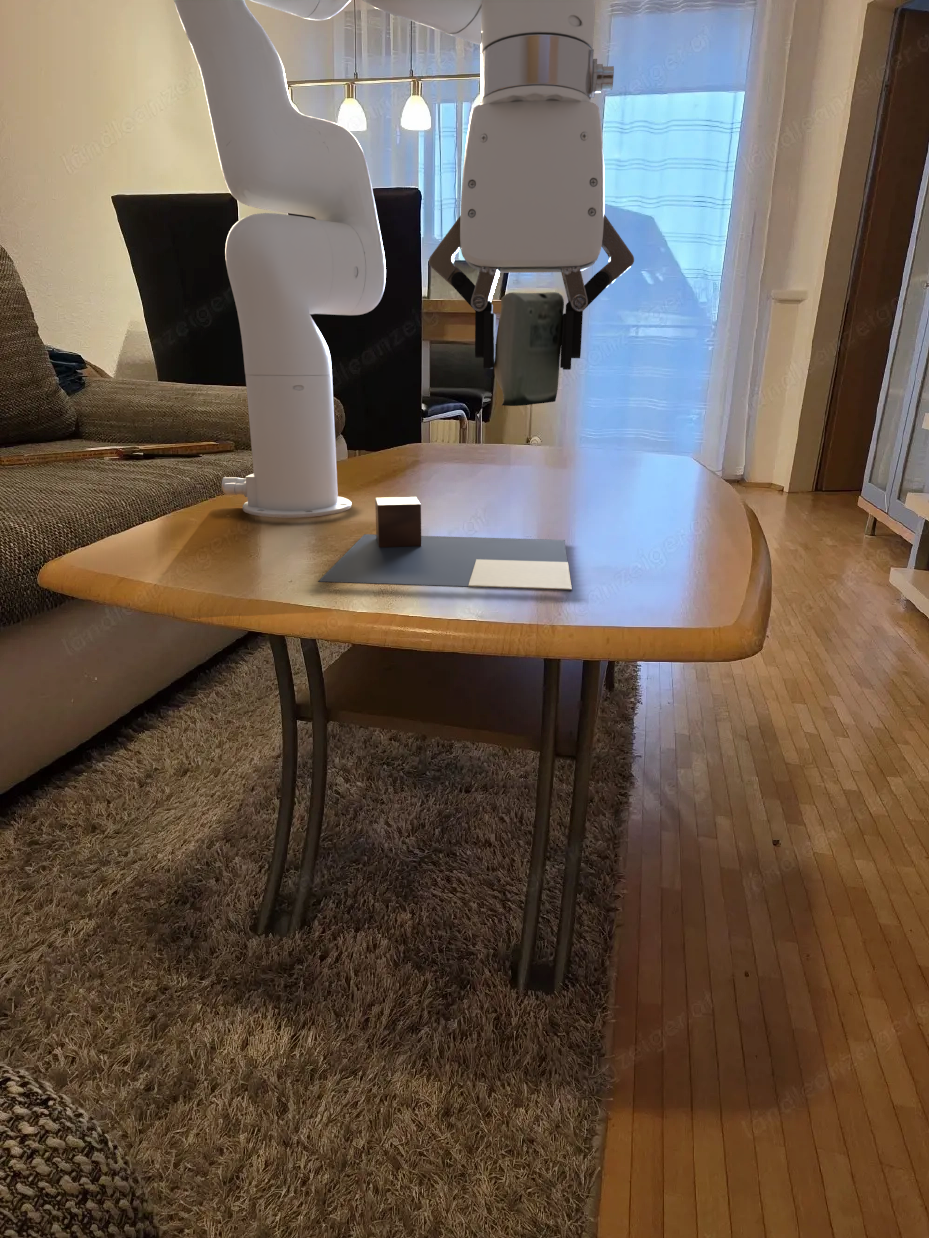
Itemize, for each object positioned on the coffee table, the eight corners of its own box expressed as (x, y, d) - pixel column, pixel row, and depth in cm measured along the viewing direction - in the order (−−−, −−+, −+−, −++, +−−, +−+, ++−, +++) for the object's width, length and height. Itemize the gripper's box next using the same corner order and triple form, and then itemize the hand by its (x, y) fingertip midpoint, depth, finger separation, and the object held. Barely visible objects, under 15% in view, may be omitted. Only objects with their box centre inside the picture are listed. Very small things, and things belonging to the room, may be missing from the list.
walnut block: (378, 547, 71) (377, 505, 69) (376, 538, 74) (375, 497, 73) (421, 546, 71) (421, 504, 70) (416, 536, 75) (416, 496, 74)
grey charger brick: (558, 405, 55) (559, 286, 53) (487, 406, 56) (486, 290, 54) (563, 401, 60) (565, 293, 58) (499, 402, 61) (498, 296, 59)
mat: (318, 590, 60) (317, 580, 60) (364, 541, 76) (364, 533, 76) (571, 599, 58) (571, 588, 58) (564, 547, 74) (564, 538, 74)
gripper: (654, 103, 54) (635, 369, 60) (419, 108, 56) (422, 368, 62) (672, 65, 47) (648, 370, 53) (402, 72, 49) (408, 369, 55)
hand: (527, 366), depth 57 cm, fingers closed on grey charger brick, 5 cm apart
